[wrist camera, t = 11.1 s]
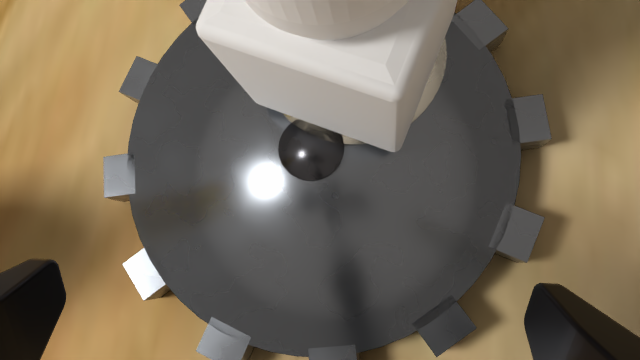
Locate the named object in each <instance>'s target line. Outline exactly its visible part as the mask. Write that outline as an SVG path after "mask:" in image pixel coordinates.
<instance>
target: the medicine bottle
mask: <svg viewBox="0 0 640 360" xmlns="http://www.w3.org/2000/svg"><path fill="white" fill-rule="evenodd" d="M456 4H457V0H207V1H206V3H205V5H204V7H203V10H202V12H201V14H200V16H199V18H198V21H197V23H196V31H197V34H198V36H199V37H200V38H201V39H202V41H203V42H204V43H205V44H206V45H207V46H208V48H209V49H210V50H211V51H212V52H213V53H214V55H215V56H216V57H217V58H218V59H219V60H220V62H221V63H222V64H223V65H224V66H225V68H226V69H227V70H228V71H229V72H230V73H231V75H232V76H233V77H234V78H235V79H236V80H237V82H238V83H239V84H240V85H241V86H242V87H243V89H244V90H245V91H246V92H247V93H248V94H249V96H250V97H251V98H252V99H253V100H254V101H255V102H256V103H257V104H259V105H262V106H264V107H267V108H270V109H273V110H276V111H278V112H281V113H284V114H287V115H289V116H292V117H295V118H298V119H301V120H303V121H306V122H309V123H312V124H315V125H317V126H320V127H323V128H326V129H328V130H331V131H334V132H337V133H340V134H342V135H345V136H348V137H351V138H353V139H356V140H359V141H362V142H365V143H367V144H370V145H373V146H376V147H378V148H381V149H384V150H387V151H390V152H397V151H399V150H400V149H401V147H402V145H403V143H404V140H405V137H406V135H407V132H408V130H409V127H410V125H411V122H412V120H413V117H414V115H415V112H416V109H417V107H418V104H419V102H420V99H421V97H422V94H423V92H424V89H425V87H426V84H427V81H428V79H429V76H430V74H431V71H432V69H433V66H434V64H435V61H436V59H437V56H438V54H439V51H440V48H441V46H442V43H443V41H444V38H445V36H446V33H447V31H448V28H449V26H450V23H451V20H452V18H453V15H454V12H455V8H456Z"/></svg>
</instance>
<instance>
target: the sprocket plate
mask: <svg viewBox="0 0 640 360" xmlns="http://www.w3.org/2000/svg"><path fill="white" fill-rule="evenodd" d="M206 1H207V0H185V1H184V2H183V3H181V4H180V7H181V8H182V9H183V11H184V12H185V14H186V15H187V16H188V18H189V19H190V20H191V22H192V23H191V24H190V25H189V26H188V27H187V28H186V29H185V30H184V31H183V32H182V33H181V34H180V35H179V36H178V38H177V39H176V40H175V41H174V43H173V44H172V45H171V46H170V48H169V49H168V50H167V52H166V53H165V54H164V55H163V57H162V58H161V60H160V62H159V63H158V64H156V63H153V62H150V61H148V60H145V59H143V58H140V57H138V56H136V58H135V60H134V62H133V64H132V66H131V68H130V70H129V72H128V74H127V76H126V78H125V80H124V82H123V84H122V86H121V88H120V90H119V92H120V93H122V94H123V95H125V96H127V97H128V98H130V99H131V100H133V101H135V102H137V103H139V104H138V107H137V110H136V113H135V116H134V120H133V124H132V129H131V134H130V139H129V146H128V154H121V155H114V156H107V157H104V198H108V199H113V200H117V201H130V204H131V210H132V215H133V218H134V222H135V225H136V228H137V231H138V234H139V237H140V240H141V242H142V244H143V246H144V248H143V249H142V250H141V251H139V252H138V253H137V254H135V255H134V256H133V257H131V258H130V259H129V260H127V261H126V262H125V263H123V266H124V268H125V269H126V271H127V273H128V274H129V276H130V278H131V280H132V281H133V283H134V285H135V286H136V288H137V290H138V292H139V293H140V295H141V297H142V298H143V300H150V299H156V298H160V297H162V296H163V295H165V294H166V293H167V292H169V291H170V290H171V291H172V292H173V293H174V294H175V295H176V296H177V298H178V299H179V300H180V301H181V302H182V303H183V304H184V305H186V306H187V307H188V308H189V309H190V310H191V311H192V312H194V313H195V314H196V315H197V316H198V317H199V318H201V319H202V320H204V321H205V322H207V323H208V326H207V328H206V330H205V332H204V335H203V337H202V339H201V341H200V343H199V346H198V348H197V350H196V351H197V352H198V353H200V354H202V355H204V356H206V357H208V358H210V359H212V360H249V357H250V355H251V353H252V351H253V348H254V347H257V348H260V349H263V350H267V351H270V352H275V353H281V354H287V355H292V356H302V357H309V360H360V354H359V352H363V351H367V350H371V349H375V348H379V347H382V346H384V345H387V344H389V343H392V342H394V341H397V340H399V339H401V338H404V337H406V336H408V335H410V334H412V333H413V332H415V331H418V332H419V334H420V335H421V336H422V338H423V339H424V340H425V342H426V343H427V345H428V346H429V347H430V349H431V350H432V351H433V353H434V354H435V356H436V357H438V356H439V355H441V354H442V353H443V352H445V351H446V350H447V349H449V348H450V347H451V346H453V345H454V344H456V343H457V342H458V341H460V340H461V339H462V338H464V337H465V336H466V335H468V334H469V333H471V332H472V331H473V330H475V329H476V326H475V325H474V324H473V322H472V321H471V320H470V318H469V317H468V316H467V315H466V313H465V312H464V311H463V309H462V308H461V307H460V305H459V304H458V303H457V301H458V300H459V299H460V298H461V297H462V295H463V294H464V293H465V292H466V291H467V290H468V289H469V288H470V287H471V286H472V285H473V284H474V283H475V281H476V280H477V279H478V277H479V276H480V275H481V273H482V272H483V270H484V269H485V268H486V266H487V265H488V264H489V262H490V261H491V259H492V257H493V255H494V253H496V254H498V255H500V256H503V257H505V258H508V259H510V260H512V261H515V262H517V263H527V262H528V259H529V257H530V254H531V251H532V249H533V246H534V244H535V241H536V239H537V236H538V233H539V231H540V228H541V226H542V223H543V221H544V218H545V217H542V216H540V215H537V214H534V213H532V212H529V211H527V210H524V209H522V208H519V207H517V206H514V205H515V200H516V195H517V190H518V185H519V178H520V163H521V150H524V149H532V148H540V147H542V146H543V145H544V144H546V143H547V142H548V141H550V140H551V139H552V138H551V134H550V129H549V124H548V119H547V114H546V109H545V104H544V99H543V94H540V95H533V96H526V97H519V98H512V97H511V94H510V92H509V89H508V86H507V84H506V81H505V78H504V76H503V74H502V73H501V71H500V69H499V67H498V65H497V63H496V62H495V60H494V58H493V56H492V54H491V53H490V51H492V50H493V49H494V48H496V47H497V46H498V45H500V44H501V42H502V40H503V38H504V36H505V34H506V32H507V30H508V28H507V27H506V26H505V25H504V23H503V22H502V21H501V20H500V19H499V18H498V17H497V16H496V15H495V14H494V13H493V12H492V11H491V10H490V9H489V8H488V7H487V5H486V4H485V3H484V2H483V1H482V0H474V1H473V2H472V3H470V4H469V5H468V6H466V7H465V8H464V9H462V10H461V11H460V12H458V13H457V14H456V13H454V15H453V18H452V20H451V23H450V26H449V28H448V31H447V33H446V36H445V38H444V41H443V43H442V46H441V48H440V51H439V54H438V56H437V59H436V61H435V64H434V66H433V69H432V71H431V74H430V76H429V79H428V81H427V84H426V87H425V89H424V92H423V94H422V97H421V99H420V102H419V104H418V107H417V109H416V112H415V115H414V117H413V120H412V122H411V125H410V127H409V130H408V132H407V135H406V137H405V140H404V143H403V145H402V147H401V149H400V150H399V151H397V152H390V151H387V150H384V149H381V148H378V147H376V146H373V145H370V144H367V143H365V142H362V141H359V140H356V139H353V138H351V137H348V136H345V135H342V134H340V133H337V132H334V131H331V130H328V129H326V128H323V127H320V126H317V125H315V124H312V123H309V122H306V121H303V120H301V119H298V118H295V117H292V116H289V115H287V114H284V113H281V112H278V111H276V110H273V109H270V108H267V107H264V106H262V105H259V104H257V103H256V102H255V101H254V100H253V99H252V98H251V97H250V96H249V94H248V93H247V92H246V91H245V90H244V89H243V87H242V86H241V85H240V84H239V83H238V82H237V80H236V79H235V78H234V77H233V76H232V75H231V73H230V72H229V71H228V70H227V69H226V68H225V66H224V65H223V64H222V63H221V62H220V60H219V59H218V58H217V57H216V56H215V55H214V53H213V52H212V51H211V50H210V49H209V48H208V46H207V45H206V44H205V43H204V42H203V41H202V39H201V38H200V37H199V36H198V34H197V31H196V23H197V21H198V18H199V16H200V14H201V12H202V10H203V7H204V5H205V3H206Z"/></svg>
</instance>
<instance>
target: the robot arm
mask: <svg viewBox="0 0 640 360" xmlns="http://www.w3.org/2000/svg"><path fill="white" fill-rule="evenodd" d="M65 302H66V292H65V288H64V284H63V281H62V277H61V273H60V270H59V266H58V264H57V263H56V261H54V260H52V259H29V260H27V261H25V262H23V263H21V264H19V265H17V266H15V267H13V268H11V269H8V270H6V271H4V272H2V273H0V360H40V359H41V357H42V355H43V352H44V350H45V348H46V346H47V344H48V341H49V339H50V337H51V335H52V332H53V330H54V328H55V326H56V324H57V321H58V319H59V317H60V315H61V312H62V310H63V308H64V305H65ZM524 325H525V331H526V334H527V338H528V342H529V345H530V349H531V353H532V356H533V360H640V338H639V337H638V336H636V335H635V334H633V333H632V332H631V331H629V330H628V329H626V328H625V327H623V326H622V325H620V324H619V323H617V322H616V321H614V320H613V319H611V318H610V317H608V316H607V315H605V314H604V313H602V312H601V311H599V310H598V309H596V308H595V307H593V306H592V305H590V304H589V303H587V302H586V301H584V300H583V299H581V298H580V297H578V296H577V295H576V294H574V293H573V292H571V291H570V290H568V289H567V288H565V287H564V286H562V285H560V284H550V283H539V284H537V285H536V286H535V287H534V289H533V292H532V295H531V298H530V301H529V304H528V307H527V310H526V313H525V318H524Z"/></svg>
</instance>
